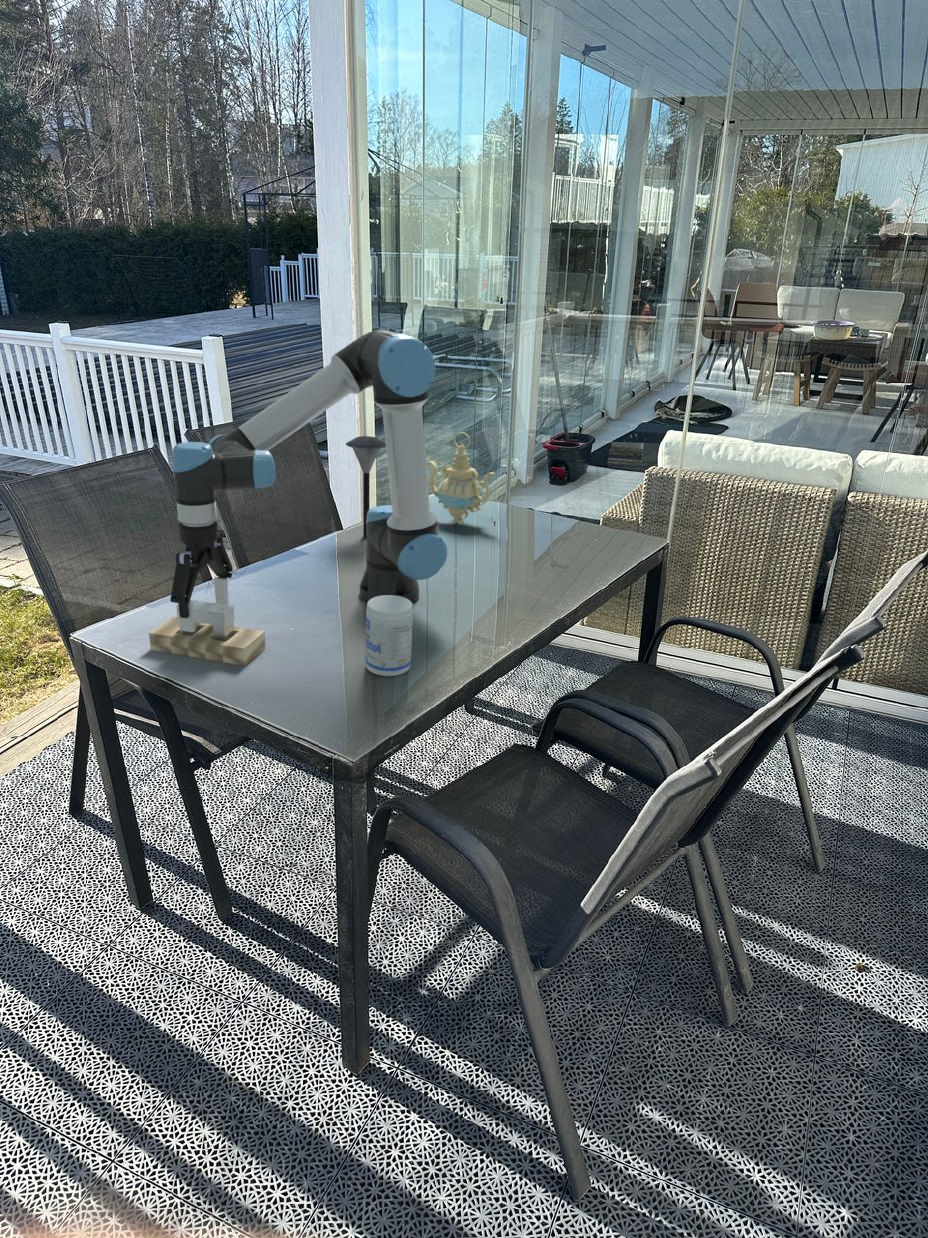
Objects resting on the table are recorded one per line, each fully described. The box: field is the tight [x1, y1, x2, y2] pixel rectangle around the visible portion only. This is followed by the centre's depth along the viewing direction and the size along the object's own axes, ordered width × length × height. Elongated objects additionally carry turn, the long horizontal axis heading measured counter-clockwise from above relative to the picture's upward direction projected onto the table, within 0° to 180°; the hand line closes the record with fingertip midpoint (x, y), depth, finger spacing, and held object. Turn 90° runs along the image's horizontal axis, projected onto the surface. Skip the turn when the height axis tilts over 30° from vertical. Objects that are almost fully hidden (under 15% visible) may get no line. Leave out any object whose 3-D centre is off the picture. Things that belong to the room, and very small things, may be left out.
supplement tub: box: [364, 595, 414, 677], centre depth 169 cm, size 10×10×15 cm
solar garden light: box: [345, 435, 386, 538], centre depth 244 cm, size 12×12×30 cm
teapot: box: [426, 431, 496, 525], centre depth 260 cm, size 24×12×30 cm, turn 60°
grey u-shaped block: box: [175, 599, 235, 641], centre depth 174 cm, size 11×4×10 cm, turn 76°
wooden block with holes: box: [148, 616, 266, 667], centre depth 175 cm, size 22×9×4 cm, turn 76°
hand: (206, 618), depth 173 cm, fingers open, 13 cm apart
